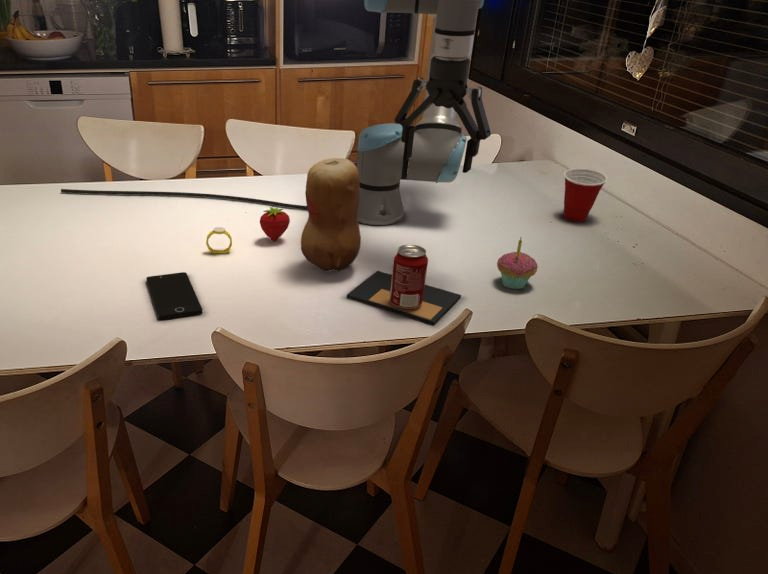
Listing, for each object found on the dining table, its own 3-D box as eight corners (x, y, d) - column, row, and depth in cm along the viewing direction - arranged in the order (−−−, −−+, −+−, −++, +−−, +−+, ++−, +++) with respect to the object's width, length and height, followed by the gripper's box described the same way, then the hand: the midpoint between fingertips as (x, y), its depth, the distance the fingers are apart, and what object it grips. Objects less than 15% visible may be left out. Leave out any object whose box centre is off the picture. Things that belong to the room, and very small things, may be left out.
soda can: (421, 313, 138) (428, 259, 131) (387, 309, 139) (393, 255, 132) (422, 297, 143) (429, 245, 137) (390, 294, 144) (396, 241, 138)
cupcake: (526, 296, 146) (538, 245, 140) (487, 286, 150) (498, 235, 143) (537, 281, 152) (549, 231, 146) (499, 272, 156) (510, 222, 149)
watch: (206, 255, 161) (205, 231, 158) (206, 250, 163) (205, 227, 160) (232, 254, 162) (231, 231, 158) (231, 249, 164) (231, 226, 161)
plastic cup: (552, 222, 182) (562, 178, 175) (555, 208, 190) (565, 165, 183) (595, 228, 178) (608, 183, 172) (596, 214, 187) (608, 171, 180)
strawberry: (293, 244, 167) (293, 205, 162) (263, 248, 165) (263, 208, 160) (285, 235, 172) (285, 196, 166) (256, 238, 170) (256, 200, 164)
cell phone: (159, 320, 136) (158, 316, 135) (146, 280, 150) (145, 276, 149) (203, 313, 138) (202, 309, 137) (186, 275, 152) (185, 271, 152)
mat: (346, 297, 145) (346, 294, 144) (377, 273, 155) (377, 270, 154) (433, 325, 136) (434, 321, 135) (460, 298, 145) (461, 294, 145)
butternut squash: (291, 261, 159) (293, 154, 145) (342, 252, 164) (349, 147, 150) (316, 286, 149) (321, 174, 135) (370, 276, 153) (380, 166, 139)
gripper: (384, 52, 136) (375, 157, 148) (506, 69, 124) (486, 181, 136) (401, 46, 141) (391, 148, 153) (520, 62, 129) (499, 171, 142)
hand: (436, 164), depth 145 cm, fingers open, 13 cm apart
